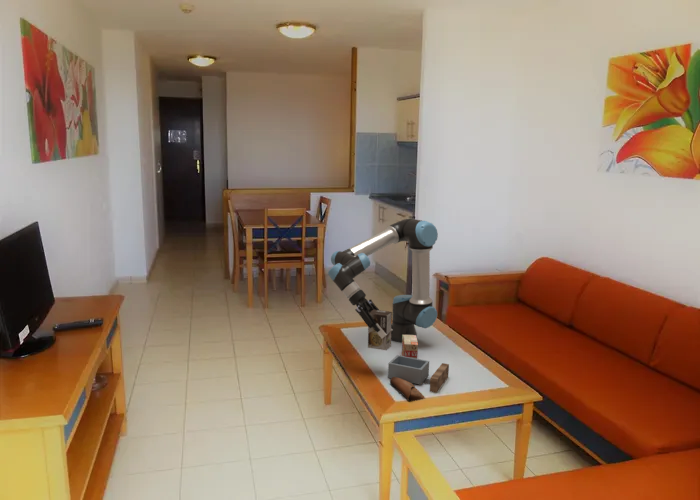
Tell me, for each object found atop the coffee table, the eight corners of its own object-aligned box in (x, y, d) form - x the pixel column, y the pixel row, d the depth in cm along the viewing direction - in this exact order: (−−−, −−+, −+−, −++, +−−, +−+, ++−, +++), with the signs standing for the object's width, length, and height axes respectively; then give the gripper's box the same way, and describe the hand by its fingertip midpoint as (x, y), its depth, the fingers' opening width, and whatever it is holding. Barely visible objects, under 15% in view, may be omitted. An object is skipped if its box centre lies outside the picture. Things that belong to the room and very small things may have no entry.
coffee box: (391, 346, 244) (392, 311, 241) (386, 350, 238) (387, 315, 235) (372, 342, 247) (373, 308, 244) (367, 347, 242) (367, 312, 239)
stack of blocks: (401, 352, 270) (402, 328, 267) (414, 352, 269) (415, 329, 267) (403, 369, 248) (404, 343, 246) (416, 369, 248) (418, 344, 246)
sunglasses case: (427, 398, 219) (420, 386, 217) (413, 409, 217) (406, 397, 215) (407, 381, 235) (400, 369, 233) (394, 390, 234) (387, 379, 232)
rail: (394, 372, 244) (394, 371, 244) (437, 381, 236) (437, 380, 236) (390, 376, 240) (390, 375, 240) (434, 385, 232) (434, 385, 231)
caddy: (396, 369, 247) (397, 355, 246) (428, 375, 241) (429, 361, 239) (387, 377, 237) (388, 363, 236) (420, 384, 231) (421, 369, 230)
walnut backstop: (441, 375, 242) (442, 363, 241) (448, 377, 241) (448, 364, 239) (429, 391, 226) (430, 377, 225) (436, 392, 224) (437, 379, 223)
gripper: (357, 293, 254) (389, 332, 250) (339, 304, 237) (373, 346, 233) (368, 284, 251) (400, 323, 247) (350, 294, 233) (385, 336, 230)
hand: (387, 334), depth 240 cm, fingers closed on coffee box, 6 cm apart
